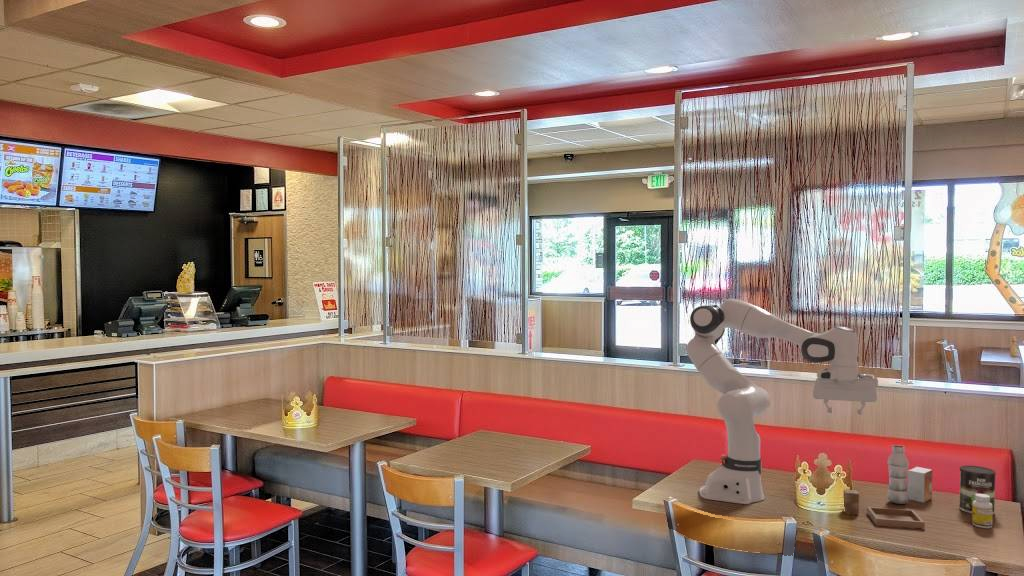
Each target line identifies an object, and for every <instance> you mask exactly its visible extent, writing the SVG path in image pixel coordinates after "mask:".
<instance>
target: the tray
mask: <svg viewBox="0 0 1024 576" xmlns="http://www.w3.org/2000/svg"><path fill="white" fill-rule="evenodd" d="M866 514H867V515H868V516H869V518H870V519H871V520H872V522H873V523H874V524H875V526H880V527H889V528H890V527H891V528H902V527H908V528H907V529H915V528H923V529H922V530H925V529H926V528H925V521H924V520H923V519H922V518H921V517H920V516H919V514H917V512H916V511H914V510H913V509H906V508H891V507H878V506H877V507H876V506H867V507H866Z"/></svg>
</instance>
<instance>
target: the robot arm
mask: <svg viewBox="0 0 1024 576" xmlns="http://www.w3.org/2000/svg"><path fill="white" fill-rule="evenodd" d="M724 300H725V301H723V303H721V305H720V306H719V305H717V304H713V305H700V306H697V307H695V308H694V310H692V311H691V314H690V317H689V322H690V326H691V328H692V330H693V331H694V337H693V338H691V339H690V340H689V341H688V343H686V347H685V351H686V353H687V356H688V358H689V360H690V361H691V363H692V364H693V366H694V367H695V369H696V370H697V371H698V372H699V374H700V375H701V376H702V377H703V379H704V380H705V381H706V383H708V385H709V386H710V388H712V389H714V390H715V391H717V392H719V393H721V394H722V396H721V397H719V398H718V401H717V405H716V407H717V411H718V414H719V416H720V417H721V418H722V419H723V421H724V424H725V428H726V433H727V455H726V454H723V453H722V454H721V455H720V457H719V458H720V460H721V466H719V467H718V468H716V469H715V470H713V471H712V472H710V473H709V474H708V476H707V478H706V480H705V485H702V486H700V487H699V491H698V492H699V496H700V497H701V498H702V499H705V500H712V501H720V502H727V503H734V504H740V505H741V504H742V505H743V504H744V505H750V504H752V503H757V502H761V501H763V500H764V499H765V494H764V492H763V486H762V480H761V475H762V469H763V468H762V466H763V465H762V463H763V462H762V458H761V436H760V433H758V432H757V430H756V427H755V423H754V420H755V419H754V418H757V417H759V416H762V415H764V414H765V413H766V412H767V411H768V409H769V408H770V407H771V403H772V402H771V396H770V394H769V393H768V391H767V390H766V389H764V388H762V387H760V386H758V385H756V384H755V383H754V382H752V381H751V380H750V379H749V378H748V377H746V376H744V374H742V373H741V372H740V371H739V370H737V369H736V368H735V366H734V365H733V364H732V363H731V361H729V359H728V358H727V357H726V356H725V354H724V353H723V352H722V351H721V350H720V349H719V347H718V346H717V344H718V343H719V341H720V340H721V338H723V336H724V334H725V331H726V330H725V329H727V328H729V329H734V330H736V331H739V332H741V333H743V334H745V335H748V336H750V337H753V338H759V339H767V338H769V339H770V338H773V339H774V338H775V339H776V338H777V339H782V340H785V341H788V342H790V343H792V344H795V345H797V346H799V347H800V346H801V347H800V351H801V355H802V356H803V358H804V359H805V360H806V361H808V362H809V363H813V364H821V363H826V362H830V363H829V364H830V367H828V368H823V369H819V370H818V371H817V372H816V377H817V378H816V379H815V381H814V385H813V390H812V397H813V398H814V400H823V404H824V405H825V407H826V408H827V411H826V412H827V413H829V414H832V412H833V408H832V406H830V405H829V404H828V403H829V401H844V402H859V403H860V405H861V406H860V408H857V410H856V411H857V412H856V413H857V414H856V415H861V416H862V415H863V410H864V409H865V407H866V404H867V403H875V402H877V401H878V396H877V388H878V386H879V379H878V377H876V376H874V375H873V374H863V373H859V362H858V355H859V340H858V334H857V332H856V331H855V330H854V329H852V328H850V327H846V326H841V325H840V326H837V325H836V326H833V327H832V328H831V329H829V330H825V331H824V332H819V331H818V332H815V331H810V330H808V329H805V328H803V327H800V326H799V325H796V324H794V323H793V324H792V323H790V322H787V321H785V320H783V319H781V318H780V317H778V316H776V315H774V314H773V313H771V312H769V311H768V310H766V309H764V308H761V307H759V306H757V305H755V304H752V303H751V302H750V303H749V302H747V301H744V300H742V299H741V300H740V299H737V298H728V299H724Z"/></svg>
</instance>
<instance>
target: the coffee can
mask: <svg viewBox="0 0 1024 576" xmlns="http://www.w3.org/2000/svg"><path fill="white" fill-rule="evenodd" d="M996 474H997V472H996V471H995V470H993V469H992V468H989V467H983V466H980V465H979V466H978V465H961V466H959V499H958V500H959V505H958V508H959V510H961V511H962V512H965V513H968V514H971V515H972V507H973V506H972V504H973V501H975V500H976V499H975V494H986V495H989V496H990V501H989V502H990V503H991V504H992V516H993V515H995V502H996V500H995V495H996V494H995V493H996Z"/></svg>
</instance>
